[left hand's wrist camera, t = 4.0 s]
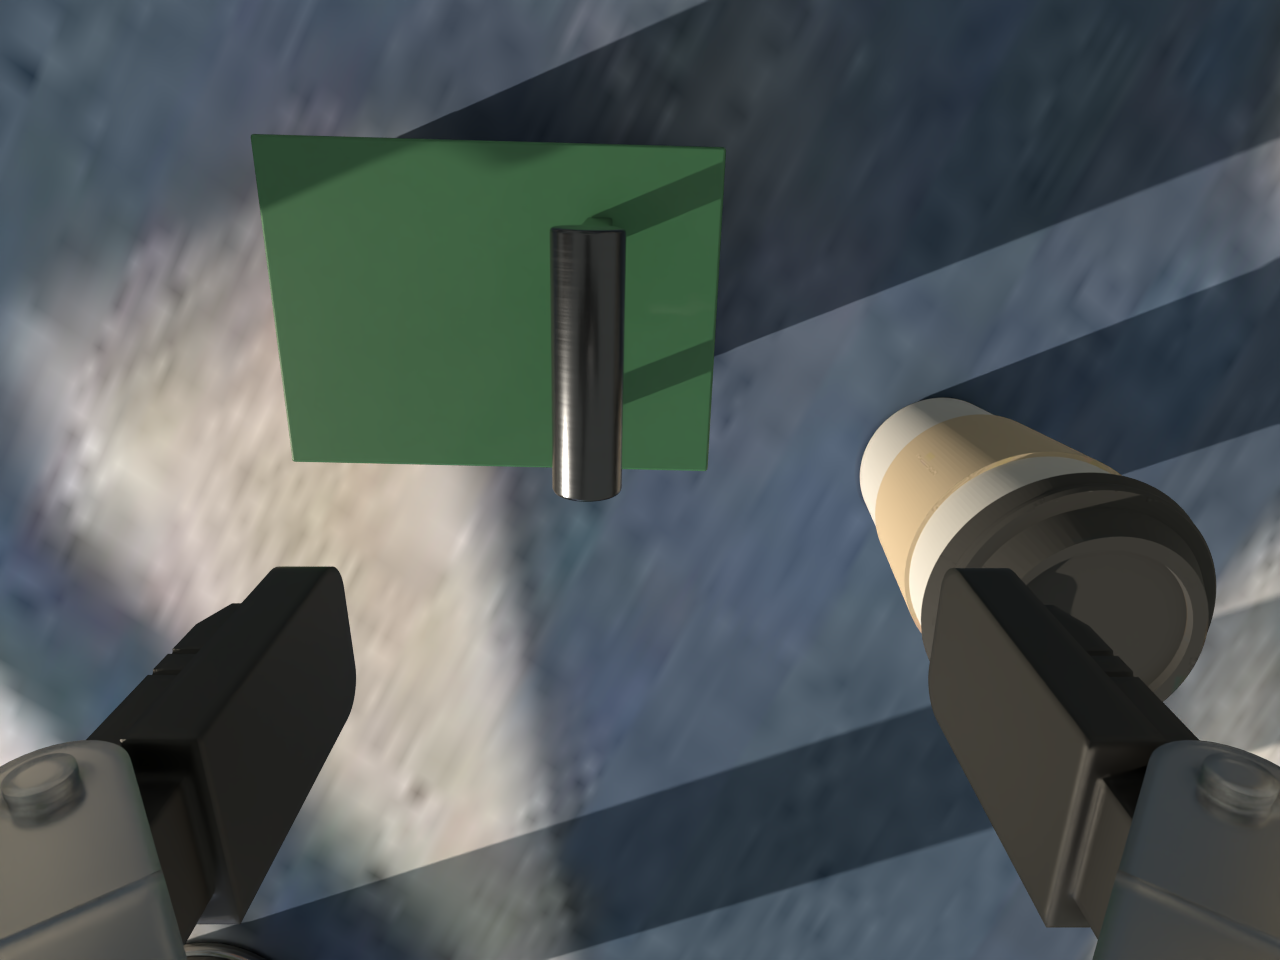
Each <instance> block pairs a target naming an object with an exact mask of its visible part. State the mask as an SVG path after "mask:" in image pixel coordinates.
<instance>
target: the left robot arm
mask: <svg viewBox="0 0 1280 960" xmlns="http://www.w3.org/2000/svg"><path fill="white" fill-rule="evenodd" d="M928 684H929V695H930V701H931V705H932V709H933V712H934V715H935V717H936V720H937V721H938V723H939V725H940V727H941V729H942V731H943V733H944V735H945V737H946V739H947V740H948V742H949V744H950V746H951V748H952V750H953V752H954V754H955V756H956V757H957V759H958V761H959V763H960V765H961V767H962V769H963V771H964V773H965V774H966V776H967V778H968V780H969V782H970V784H971V786H972V788H973V790H974V791H975V793H976V795H977V797H978V799H979V801H980V803H981V805H982V807H983V809H984V810H985V812H986V814H987V816H988V818H989V820H990V822H991V824H992V826H993V827H994V829H995V831H996V833H997V835H998V837H999V839H1000V841H1001V843H1002V844H1003V846H1004V848H1005V850H1006V852H1007V854H1008V856H1009V858H1010V860H1011V862H1012V863H1013V865H1014V867H1015V869H1016V871H1017V873H1018V875H1019V877H1020V879H1021V880H1022V882H1023V884H1024V886H1025V888H1026V890H1027V892H1028V894H1029V896H1030V897H1031V899H1032V901H1033V903H1034V905H1035V907H1036V909H1037V911H1038V913H1039V915H1040V916H1041V918H1042V920H1043V922H1044V924H1045V926H1046V927H1091V929H1092V930H1093V932H1094V934H1095V936H1096V937H1097V939H1098V942H1097V945H1096V949H1095V952H1094V956H1093V960H1280V767H1279V766H1278V765H1276V764H1274V763H1272V762H1270V761H1268V760H1266V759H1264V758H1261V757H1259V756H1257V755H1255V754H1252V753H1249V752H1247V751H1244V750H1241V749H1238V748H1234V747H1231V746H1228V745H1223V744H1219V743H1214V742H1207V741H1200V740H1199V739H1198V738H1197V737H1196V736H1195V735H1194V734H1193V733H1192V732H1191V731H1190V730H1189V729H1188V728H1187V727H1186V726H1185V725H1184V724H1183V723H1182V722H1181V721H1180V720H1179V719H1178V718H1177V717H1176V715H1175V714H1174V713H1173V712H1172V711H1171V710H1170V709H1169V708H1168V707H1167V706H1166V705H1165V704H1164V703H1163V702H1162V701H1161V700H1160V699H1159V698H1158V697H1157V696H1156V695H1155V694H1154V693H1153V692H1152V691H1151V689H1150V688H1149V687H1148V686H1147V685H1146V684H1145V683H1144V682H1143V681H1142V680H1141V679H1140V678H1139V677H1134V676H1133V671H1132V670H1131V669H1130V668H1129V667H1128V666H1127V665H1126V663H1125V662H1124V661H1123V660H1122V659H1121V658H1120V657H1119V656H1114V655H1113V650H1112V649H1111V648H1110V647H1109V646H1108V645H1107V644H1106V643H1105V642H1104V641H1103V640H1102V638H1101V637H1100V636H1099V635H1098V634H1097V633H1096V632H1095V631H1094V630H1093V629H1092V628H1091V627H1090V626H1089V625H1087V624H1085V623H1083V622H1082V621H1080V620H1078V619H1077V618H1075V617H1073V616H1071V615H1070V614H1068V613H1066V612H1064V611H1063V610H1061V609H1059V608H1058V607H1056V606H1054V605H1044V604H1043V603H1042V602H1041V601H1040V600H1039V599H1038V598H1037V597H1036V595H1035V594H1034V593H1033V592H1032V591H1031V590H1030V589H1029V588H1028V587H1027V585H1026V584H1025V583H1024V582H1023V581H1022V580H1021V579H1020V578H1019V577H1018V576H1017V574H1016V573H1015V572H1014V571H1013V570H1011V569H1009V568H950V569H949V570H948V571H947V572H946V573H945V575H944V577H943V581H942V584H941V590H940V597H939V604H938V610H937V617H936V624H935V631H934V638H933V644H932V651H931V658H930V665H929V675H928ZM355 687H356V669H355V661H354V654H353V647H352V640H351V633H350V626H349V619H348V612H347V606H346V599H345V592H344V585H343V581H342V577H341V575H340V573H339V571H338V570H337V569H336V568H335V567H275V568H273V569H272V570H271V571H270V572H269V573H268V574H267V575H266V577H265V578H264V579H263V580H262V581H261V582H260V583H259V584H258V585H257V587H256V588H255V589H254V590H253V591H252V592H251V593H250V594H249V596H248V597H247V598H246V599H245V600H244V601H243V602H242V603H232V604H230V605H229V606H227V607H225V608H223V609H222V610H220V611H218V612H217V613H215V614H213V615H211V616H210V617H208V618H206V619H205V620H203V621H201V622H199V623H198V624H196V625H195V626H194V627H193V628H192V629H191V630H190V631H189V632H188V633H187V634H186V636H185V637H184V638H183V639H182V640H181V641H180V642H179V643H178V644H177V645H176V646H175V647H174V648H173V653H172V654H167V655H166V656H165V658H164V659H163V660H162V661H161V662H160V663H159V664H158V665H157V666H156V667H155V668H154V669H153V674H152V675H147V676H146V677H145V679H144V680H143V681H142V682H141V683H140V684H139V685H138V686H137V687H136V688H135V689H134V690H133V691H132V692H131V693H130V694H129V695H128V696H127V697H126V698H125V700H124V701H123V702H122V703H121V704H120V705H119V706H118V707H117V708H116V709H115V710H114V711H113V712H112V713H111V714H110V715H109V716H108V717H107V718H106V719H105V721H104V722H103V723H102V724H101V725H100V726H99V727H98V728H97V729H96V730H95V731H94V732H93V733H92V734H91V735H90V736H89V737H88V738H87V739H86V740H81V741H73V742H66V743H61V744H57V745H52V746H49V747H46V748H42V749H39V750H36V751H33V752H31V753H28V754H25V755H23V756H21V757H19V758H16V759H14V760H12V761H10V762H8V763H6V764H4V765H2V766H1V767H0V960H265V959H264V958H262V957H260V956H258V955H256V954H254V953H252V952H250V951H247V950H244V949H242V948H238V947H235V946H231V945H225V944H219V943H192V944H186V945H185V943H186V941H187V940H188V938H189V936H190V934H191V933H192V931H193V929H194V927H195V926H196V924H241V922H242V920H243V918H244V916H245V914H246V912H247V910H248V908H249V907H250V905H251V903H252V901H253V899H254V897H255V895H256V893H257V891H258V889H259V887H260V885H261V884H262V882H263V880H264V878H265V876H266V874H267V872H268V870H269V868H270V866H271V864H272V862H273V861H274V859H275V857H276V855H277V853H278V851H279V849H280V847H281V845H282V843H283V841H284V840H285V838H286V836H287V834H288V832H289V830H290V828H291V826H292V824H293V822H294V820H295V818H296V817H297V815H298V813H299V811H300V809H301V807H302V805H303V803H304V801H305V799H306V797H307V795H308V794H309V792H310V790H311V788H312V786H313V784H314V782H315V780H316V778H317V776H318V774H319V772H320V771H321V769H322V767H323V765H324V763H325V761H326V759H327V757H328V755H329V753H330V751H331V749H332V748H333V746H334V744H335V742H336V740H337V738H338V736H339V734H340V732H341V730H342V728H343V726H344V725H345V723H346V721H347V719H348V717H349V714H350V712H351V709H352V705H353V701H354V696H355Z"/></svg>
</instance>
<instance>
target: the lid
mask: <svg viewBox="0 0 1280 960" xmlns="http://www.w3.org/2000/svg"><path fill="white" fill-rule="evenodd" d="M251 143H252V150H253V158H254V166H255V173H256V181H257V189H258V197H259V204H260V212H261V220H262V227H263V235H264V243H265V250H266V258H267V266H268V273H269V281H270V289H271V297H272V304H273V312H274V320H275V327H276V335H277V343H278V350H279V358H280V366H281V374H282V381H283V389H284V397H285V404H286V412H287V420H288V427H289V435H290V443H291V450H292V458H293V461H295V462H337V463H381V464H425V465H469V466H513V467H552V475H553V490H554V492H555V493H556V494H557V495H558V496H560V497H562V498H565V499H569V500H574V501H583V502H591V501H601V500H606V499H609V498H612V497H614V496H616V495H617V494H618V493H619V492H620V490H621V487H622V469H646V470H690V471H706V470H707V467H708V450H709V433H710V415H711V398H712V381H713V364H714V347H715V329H716V312H717V295H718V278H719V261H720V244H721V226H722V209H723V192H724V175H725V158H726V149H725V148H724V147H696V146H660V145H624V144H588V143H553V142H517V141H481V140H445V139H410V138H374V137H338V136H302V135H266V134H252V135H251Z"/></svg>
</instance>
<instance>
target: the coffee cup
mask: <svg viewBox="0 0 1280 960" xmlns="http://www.w3.org/2000/svg"><path fill="white" fill-rule="evenodd" d="M860 485H861V491H862V495H863V498H864V500H865V503H866V505H867V507H868V509H869V512H870V514H871V516H872V518H873V521H874V523H875V525H876V528H877V533H878V536H879V539H880V542H881V544H882V547H883V549H884V551H885V554H886V556H887V559H888V561H889V563H890V566H891V568H892V570H893V573H894V575H895V578H896V580H897V582H898V585H899V587H900V589H901V592H902V594H903V597H904V599H905V601H906V604H907V606H908V608H909V611H910V613H911V616H912V618H913V620H914V622H915V624H916V625H917V627H918V629H919V630H920V632H921V633H922V638H923V643H924V647H925V650H926V653H927V656H928V658H929V661H930V658H931V651H932V644H933V638H934V631H935V624H936V617H937V610H938V604H939V597H940V590H941V584H942V581H943V577H944V575H945V573H946V572H947V571H948V570H949V569H950V568H1009V569H1011V570H1013V571H1014V572H1015V573H1016V574H1017V576H1018V577H1019V578H1020V579H1021V580H1022V581H1023V582H1024V583H1025V584H1026V585H1027V587H1028V588H1029V589H1030V590H1031V591H1032V592H1033V593H1034V594H1035V595H1036V597H1037V598H1038V599H1039V600H1040V601H1041V602H1042V603H1043V604H1044V605H1054V606H1056V607H1058V608H1059V609H1061V610H1063V611H1064V612H1066V613H1068V614H1070V615H1071V616H1073V617H1075V618H1077V619H1078V620H1080V621H1082V622H1083V623H1085V624H1087V625H1089V626H1090V627H1091V628H1092V629H1093V630H1094V631H1095V632H1096V633H1097V634H1098V635H1099V636H1100V637H1101V638H1102V640H1103V641H1104V642H1105V643H1106V644H1107V645H1108V646H1109V647H1110V648H1111V649H1112V650H1113V655H1114V656H1119V657H1120V658H1121V659H1122V660H1123V661H1124V662H1125V663H1126V665H1127V666H1128V667H1129V668H1130V669H1131V670H1132V671H1133V676H1134V677H1139V678H1140V679H1141V680H1142V681H1143V682H1144V683H1145V684H1146V685H1147V686H1148V687H1149V688H1150V689H1151V691H1152V692H1153V693H1154V694H1155V695H1156V696H1157V697H1158V698H1159V699H1160V700H1161V701H1162V702H1163V701H1164V700H1166V699H1167V698H1168V697H1169V696H1170V695H1171V694H1172V693H1173V692H1174V691H1175V690H1176V689H1177V688H1178V687H1179V686H1180V685H1181V684H1182V682H1183V681H1184V680H1185V679H1186V677H1187V676H1188V675H1189V673H1190V672H1191V670H1192V668H1193V667H1194V665H1195V663H1196V662H1197V660H1198V658H1199V655H1200V653H1201V651H1202V648H1203V645H1204V642H1205V639H1206V635H1207V632H1208V629H1209V626H1210V623H1211V620H1212V616H1213V612H1214V606H1215V599H1216V575H1215V568H1214V563H1213V559H1212V556H1211V553H1210V550H1209V548H1208V546H1207V543H1206V541H1205V539H1204V538H1203V536H1202V534H1201V533H1200V531H1199V530H1198V528H1197V527H1196V526H1195V525H1194V523H1193V522H1192V520H1191V519H1190V517H1189V516H1188V515H1187V514H1186V513H1185V511H1184V510H1183V509H1182V508H1181V507H1180V506H1179V505H1178V504H1177V503H1176V502H1175V501H1174V500H1172V499H1171V498H1170V497H1169V496H1167V495H1166V494H1164V493H1163V492H1161V491H1160V490H1158V489H1156V488H1154V487H1152V486H1150V485H1148V484H1146V483H1144V482H1141V481H1138V480H1136V479H1132V478H1129V477H1125V476H1122V475H1120V474H1119V473H1118V472H1116V471H1115V470H1113V469H1112V468H1110V467H1109V466H1107V465H1105V464H1103V463H1101V462H1099V461H1097V460H1095V459H1093V458H1091V457H1089V456H1087V455H1084V454H1082V453H1080V452H1078V451H1076V450H1074V449H1072V448H1070V447H1068V446H1066V445H1064V444H1062V443H1060V442H1058V441H1055V440H1053V439H1051V438H1049V437H1047V436H1045V435H1043V434H1041V433H1039V432H1037V431H1035V430H1033V429H1031V428H1029V427H1026V426H1024V425H1022V424H1020V423H1018V422H1016V421H1013V420H1011V419H1008V418H1005V417H1000V416H995V415H993V414H991V413H989V412H987V411H985V410H983V409H981V408H979V407H977V406H975V405H973V404H971V403H968V402H966V401H962V400H958V399H953V398H932V399H926V400H922V401H919V402H916V403H913V404H911V405H908V406H906V407H904V408H903V409H901V410H899V411H898V412H896V413H895V414H893V415H892V416H891V417H890V418H888V419H887V420H886V421H885V422H884V423H883V424H882V425H881V426H880V427H879V428H878V430H877V431H876V432H875V434H874V435H873V437H872V438H871V440H870V442H869V443H868V445H867V448H866V450H865V453H864V455H863V459H862V463H861V469H860Z"/></svg>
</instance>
